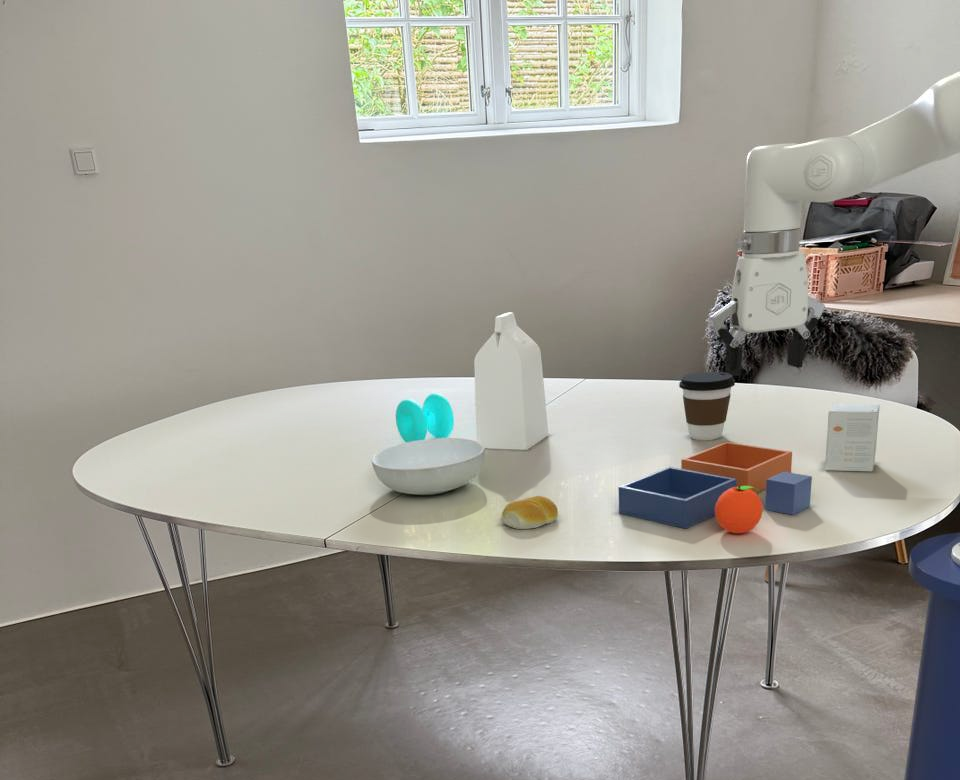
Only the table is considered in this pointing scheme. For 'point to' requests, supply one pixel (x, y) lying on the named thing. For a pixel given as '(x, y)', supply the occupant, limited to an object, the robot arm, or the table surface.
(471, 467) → the serving bowl
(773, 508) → the blue block
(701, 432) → the coffee cup
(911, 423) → the table surface
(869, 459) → the small box
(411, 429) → the cyan plastic rounded piece
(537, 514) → the bread roll
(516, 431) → the milk
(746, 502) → the clementine
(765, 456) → the terracotta bin
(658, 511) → the blue bin
